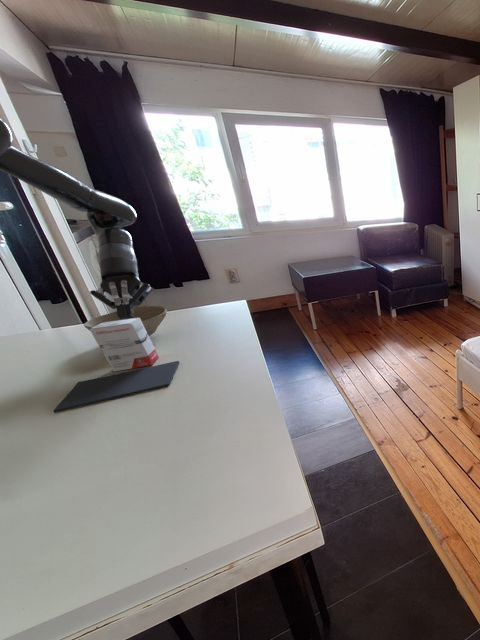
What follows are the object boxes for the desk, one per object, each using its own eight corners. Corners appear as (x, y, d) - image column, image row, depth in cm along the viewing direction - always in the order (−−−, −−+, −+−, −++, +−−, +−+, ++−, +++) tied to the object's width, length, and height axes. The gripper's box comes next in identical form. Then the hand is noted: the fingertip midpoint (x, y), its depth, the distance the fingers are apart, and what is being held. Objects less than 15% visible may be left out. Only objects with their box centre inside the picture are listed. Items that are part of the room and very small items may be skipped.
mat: (54, 412, 76) (52, 410, 76) (79, 384, 87) (78, 381, 86) (169, 385, 84) (168, 383, 84) (179, 362, 94) (178, 360, 94)
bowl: (178, 322, 120) (168, 300, 117) (173, 342, 106) (161, 317, 102) (105, 337, 112) (92, 313, 108) (90, 360, 98) (74, 333, 94)
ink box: (159, 357, 98) (140, 316, 92) (152, 365, 94) (131, 323, 88) (121, 363, 95) (99, 321, 90) (112, 372, 91) (88, 329, 86)
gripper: (78, 259, 94) (84, 318, 90) (141, 252, 99) (150, 308, 95) (96, 275, 101) (102, 330, 96) (154, 267, 106) (163, 320, 101)
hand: (126, 319), depth 96 cm, fingers closed
